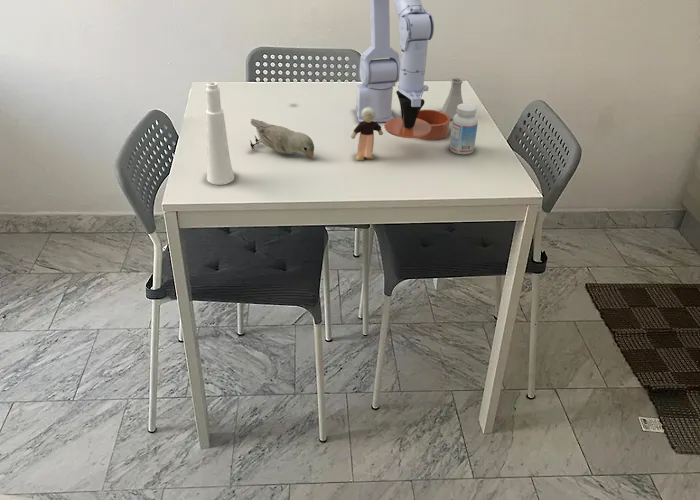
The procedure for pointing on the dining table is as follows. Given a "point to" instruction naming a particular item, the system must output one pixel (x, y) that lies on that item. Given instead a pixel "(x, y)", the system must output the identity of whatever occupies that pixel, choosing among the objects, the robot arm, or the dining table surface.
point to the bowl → (435, 123)
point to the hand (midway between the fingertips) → (407, 123)
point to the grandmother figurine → (366, 134)
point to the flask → (453, 98)
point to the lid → (407, 128)
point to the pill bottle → (464, 129)
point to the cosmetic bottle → (217, 139)
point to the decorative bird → (282, 139)
